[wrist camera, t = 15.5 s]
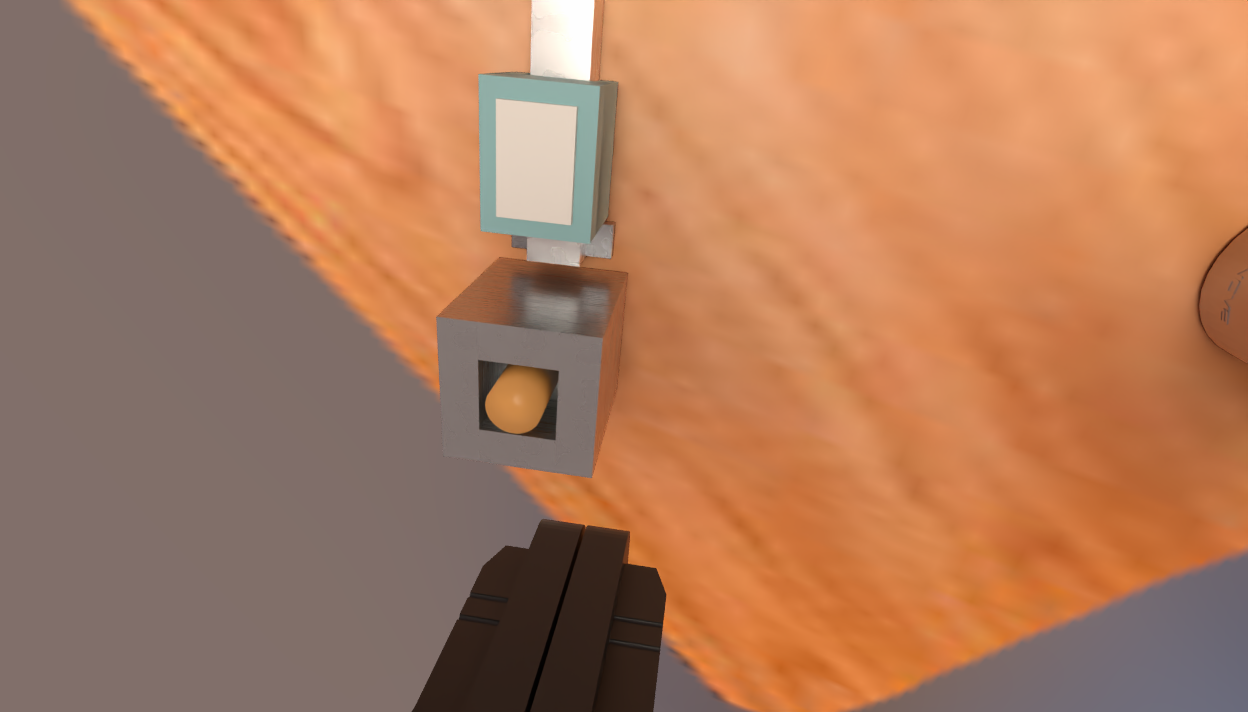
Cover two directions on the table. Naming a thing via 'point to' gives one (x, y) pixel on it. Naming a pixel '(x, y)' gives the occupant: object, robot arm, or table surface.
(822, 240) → the table surface
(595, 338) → the cabinet
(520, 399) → the button
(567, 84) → the carriage
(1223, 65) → the table surface
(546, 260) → the rail
